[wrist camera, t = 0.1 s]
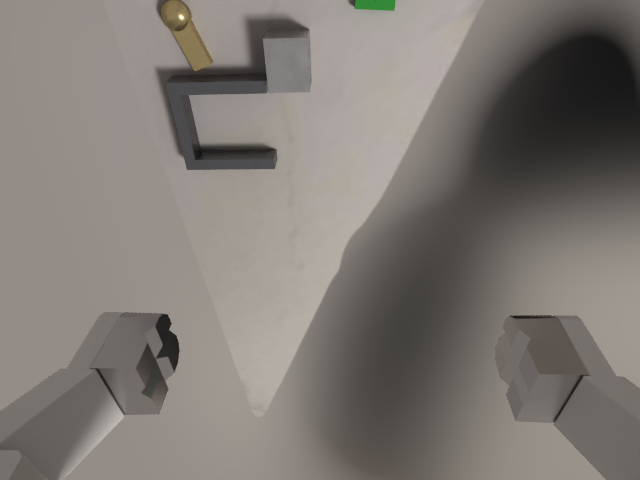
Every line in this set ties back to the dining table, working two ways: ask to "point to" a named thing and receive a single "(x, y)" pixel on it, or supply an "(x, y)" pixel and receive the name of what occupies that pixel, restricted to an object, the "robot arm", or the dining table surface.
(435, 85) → the dining table surface
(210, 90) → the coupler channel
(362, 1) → the pipe clamp
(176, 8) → the brass key
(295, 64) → the block
